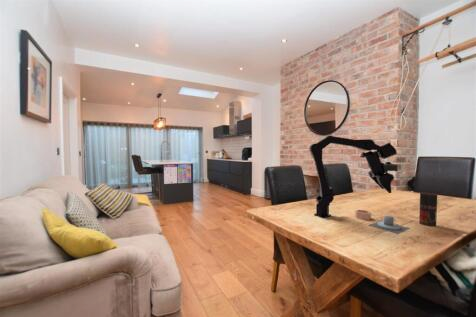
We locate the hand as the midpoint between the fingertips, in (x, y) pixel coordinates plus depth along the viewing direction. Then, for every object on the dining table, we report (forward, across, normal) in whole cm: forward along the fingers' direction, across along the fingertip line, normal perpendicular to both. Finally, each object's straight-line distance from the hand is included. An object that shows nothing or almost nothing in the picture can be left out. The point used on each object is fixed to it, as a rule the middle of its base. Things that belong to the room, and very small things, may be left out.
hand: (386, 190), depth 109 cm
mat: (+11, -16, +9) cm, 21 cm away
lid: (+11, -16, +8) cm, 21 cm away
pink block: (+9, -5, +16) cm, 19 cm away
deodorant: (+19, -7, -8) cm, 22 cm away
